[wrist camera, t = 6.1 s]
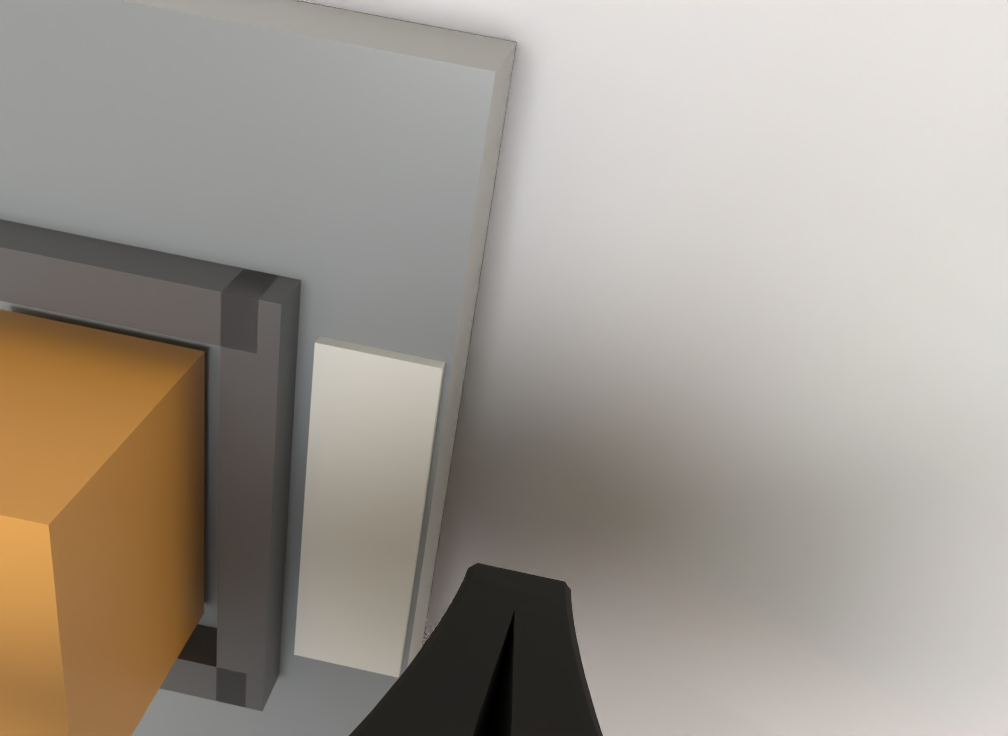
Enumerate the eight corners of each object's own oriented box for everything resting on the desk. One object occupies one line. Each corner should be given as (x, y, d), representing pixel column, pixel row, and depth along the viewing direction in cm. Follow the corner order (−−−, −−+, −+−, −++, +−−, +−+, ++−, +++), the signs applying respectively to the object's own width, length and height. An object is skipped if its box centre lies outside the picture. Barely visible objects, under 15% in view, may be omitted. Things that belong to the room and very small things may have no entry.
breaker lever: (204, 351, 14) (38, 537, 10) (204, 613, 16) (69, 840, 12) (0, 308, 14) (-239, 476, 10) (31, 574, 16) (-153, 787, 12)
